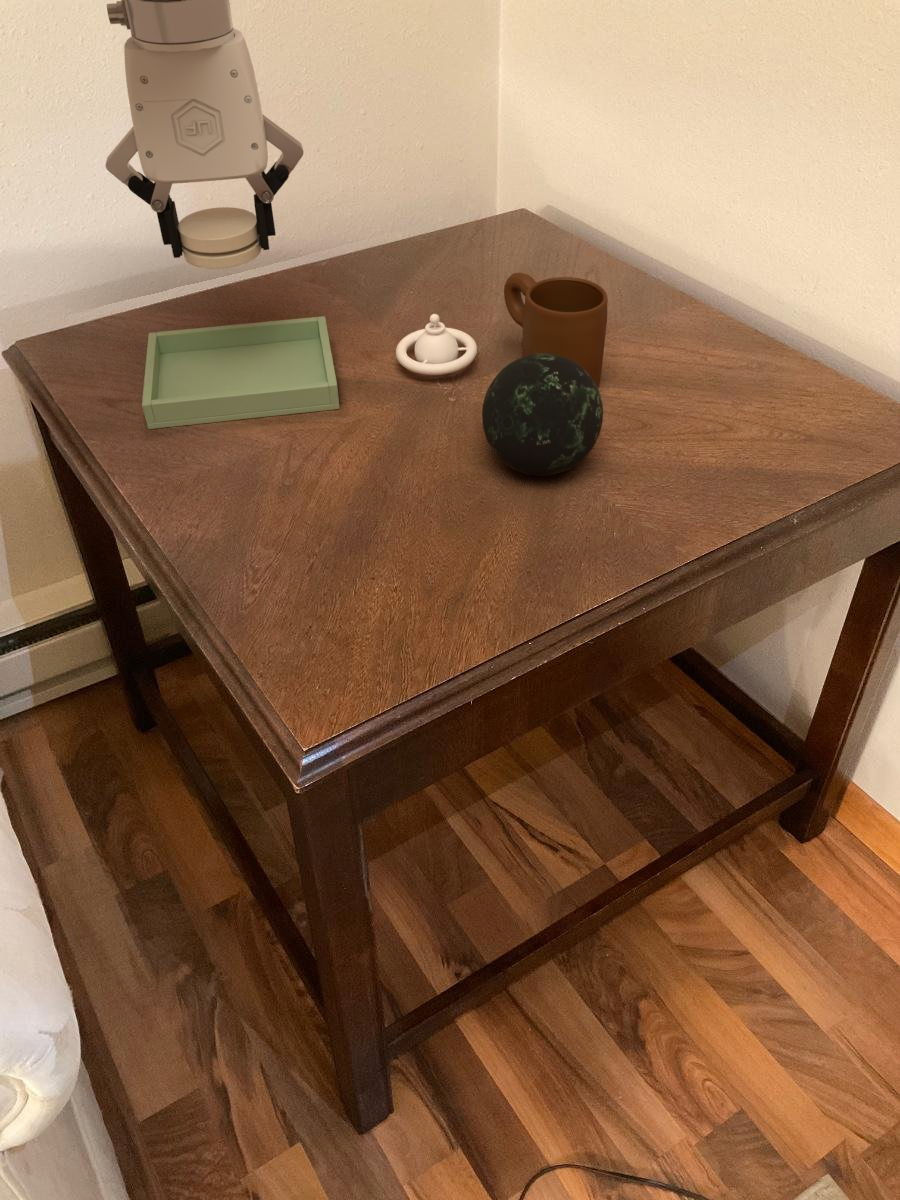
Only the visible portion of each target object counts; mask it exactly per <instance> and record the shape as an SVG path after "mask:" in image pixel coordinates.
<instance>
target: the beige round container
mask: <svg viewBox="0 0 900 1200" xmlns="http://www.w3.org/2000/svg"><path fill="white" fill-rule="evenodd" d="M178 232H179V237H180V242H181V244H182V256H183V259H184V260H185V261H186V262H187V263H188V264H190V265H192V266H194V267H197V268H202V269H212V270H213V269H215V270H216V269H229V268H235V267H238V266H241V265H244V264H247V263H249V262H251V261H253V260H255V259H256V258H257V257H258V256H259V255H260V254H261V252H262V249H261V245H260V239H259V232H258V226H257V219H256V214H255V213H254V212H251V211H249V210H247V209H244V208H239V207H232V206H231V207H228V206H227V207H226V206H225V207H224V206H221V207H211V208H206V209H201V210H197V211H195V212H192V213H190V214H187V215H186V216H185V217H183V218H181V220H179V224H178Z"/></svg>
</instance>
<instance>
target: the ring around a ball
mask: <svg viewBox="0 0 900 1200" xmlns="http://www.w3.org/2000/svg"><path fill="white" fill-rule="evenodd" d="M440 319H441V318H440V316H439V314H437V313H432V314H431V315H430V316H429V322H428V323H427V324H425V326H424V328H421V329H418V330H415V331H412V332H410V333H409V334H407V335H405V336H404V337H403V338H402V339H401V340H400V341H399V342H398V343H397V345H396V349H395V357H396V361H398V363H399V364H400V365H401V366H402V367H403V368H405V369H406V370H407V371H410V372H413V373H415V374H419V375H424V376H425V375H426V376H443V375H449V374H452V373H456V372H459V371H461V370H463V369H465V368H466V367H468V366H469V365H470V364H472V363H473V362H474V360H475V359H476V357H477V354H478V345H477V342H476V340H475V339H474V338H473V337H472V336H471V335H469V334H468V333H467V332H464V331H462V330H460V329H456V328H452V327H446V325H445V324H444V323H443V322H441V320H440ZM458 343H460V344H462V345H464V346H463V347H459V344H458ZM413 345H414V357H415V359H413V358H411V357H410V356H409V355H408V353H407V352H408V350H409V348H410V347H412V346H413ZM459 351H461V352H463V351H465V353H464V354H463V355H462V356H460V357H459Z"/></svg>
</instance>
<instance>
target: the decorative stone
mask: <svg viewBox="0 0 900 1200" xmlns="http://www.w3.org/2000/svg"><path fill="white" fill-rule="evenodd" d="M481 411H482V412H481V419H482V420H481V421H482V428H483V432H484V436H485V438H486V441H487V443H488V445H489V446H490V448H491V450H492V451H493V452H494V454H495V455H496V456H497V458H499V459H500V460H501V461H502V462H503V463H504V464H505V465H507V466H508V467H510V468H512V469H513V470H516V471H517V472H519V473H523V474H524V475H525V474H526V475H529V476H537V477H540V476H541V477H546V476H547V477H548V476H553V475H556V474H560V473H563V472H566V471H569V470H571V469H572V468H574V467H576V466H577V465H578V464H579V463H581V462H582V461H583V460H584V459H585V458H586V457H587V456H588V455H589V454H590V452H591V451H592V450H593V448H594V446H595V445H596V443H597V441H598V439H599V437H600V433H601V430H602V427H603V419H604V405H603V400H602V397H601V393H600V390H599V387H598V388H597V386H596V384H595V382H594V381H593V379H592V378H591V377H590V375H589V374H588V373H587V372H586V371H585V370H584V369H583V368H582V367H581V366H580V365H578V364H577V363H575V362H574V361H572V360H570V359H568V358H565V357H563V356H559V355H555V354H546V353H539V354H532V355H528V356H525V357H522V356H521V357H519V358H517V359H516V360H514V361H512V362H510V363H509V364H507V365H506V366H505V367H503V368H501V370H500V371H499V372H498V373H497V374H496V376H495V377H494V378H493V380H492V381H491V382H490V384H489V386H488V388H487V390H486V392H485V395H484V399H483V402H482V408H481Z"/></svg>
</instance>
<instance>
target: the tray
mask: <svg viewBox="0 0 900 1200" xmlns="http://www.w3.org/2000/svg"><path fill="white" fill-rule="evenodd" d="M146 346H147V347H146V359H145V368H144V380H143V391H142V399H141V408H142V411H143V415H144V419H145V423H146V426H147V427H146V428H147V429H148V430H154V429H155V430H157V429H163V428H173V427H174V428H175V427H183V426H192V425H201V424H211V423H221V422H232V421H239V420H249V419H258V418H267V417H276V416H277V417H279V416H286V415H297V414H304V413H305V414H306V413H314V412H324V411H333V410H339V409H340V407H341V406H340V399H339V398H340V397H339V391H338V390H339V389H338V382H337V377H336V371H335V365H334V358H333V354H332V348H331V343H330V337H329V330H328V326H327V320H326V316H325V315H321V316H312V317H301V318H292V319H281V320H270V321H260V322H247V323H240V324H239V323H237V324H229V325H218V326H208V327H197V328H195V327H194V328H185V329H176V330H175V329H174V330H164V331H163V330H162V331H157V332H149V333H148V335H147V345H146Z"/></svg>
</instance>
